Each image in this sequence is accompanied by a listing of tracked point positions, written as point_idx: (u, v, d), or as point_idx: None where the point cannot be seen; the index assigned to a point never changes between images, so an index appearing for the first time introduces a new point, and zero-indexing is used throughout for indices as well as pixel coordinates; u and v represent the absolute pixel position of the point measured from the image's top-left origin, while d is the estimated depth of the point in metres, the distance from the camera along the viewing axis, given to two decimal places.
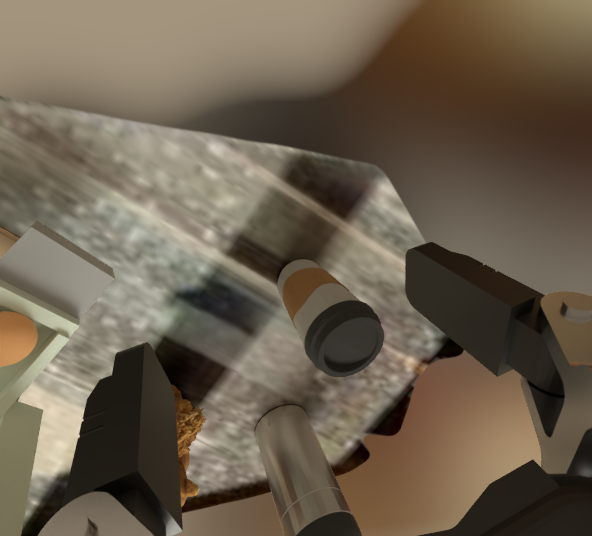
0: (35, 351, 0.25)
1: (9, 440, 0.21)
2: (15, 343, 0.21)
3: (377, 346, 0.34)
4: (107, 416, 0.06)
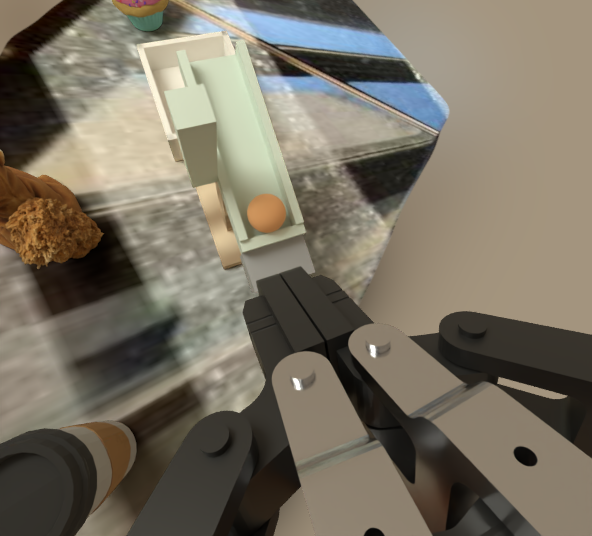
0: None
1: (208, 167, 0.28)
2: (266, 218, 0.29)
3: None
4: (277, 315, 0.08)
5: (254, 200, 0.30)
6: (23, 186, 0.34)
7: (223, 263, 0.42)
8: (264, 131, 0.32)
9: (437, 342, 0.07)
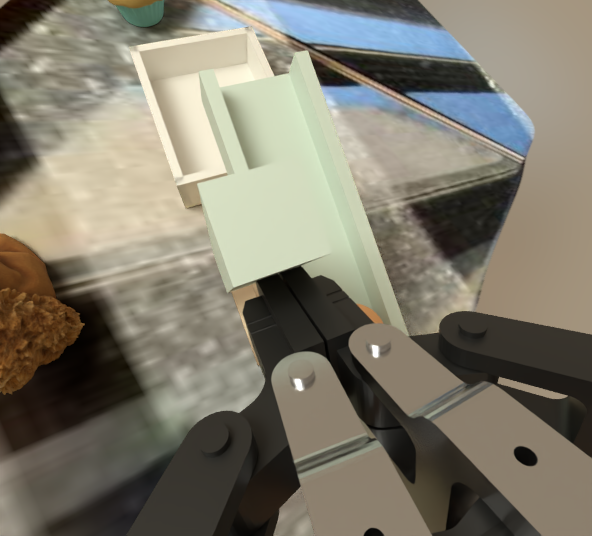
0: None
1: None
2: None
3: None
4: (277, 315, 0.08)
5: None
6: None
7: None
8: (341, 195, 0.20)
9: (437, 342, 0.07)
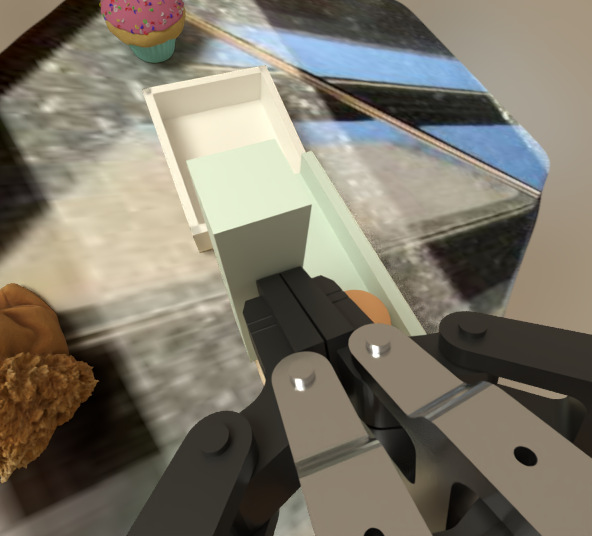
0: None
1: None
2: None
3: None
4: (277, 315, 0.08)
5: None
6: None
7: None
8: (358, 256, 0.20)
9: (437, 342, 0.07)
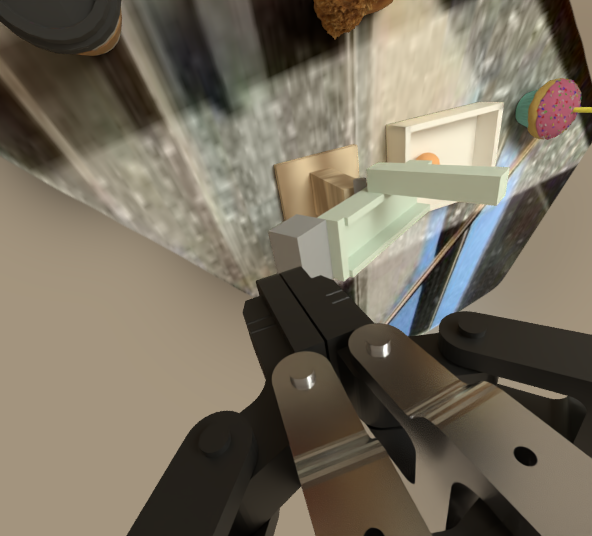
0: None
1: (407, 189, 0.32)
2: None
3: None
4: (277, 315, 0.08)
5: None
6: None
7: (279, 166, 0.44)
8: (394, 230, 0.39)
9: (437, 342, 0.07)
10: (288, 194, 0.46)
